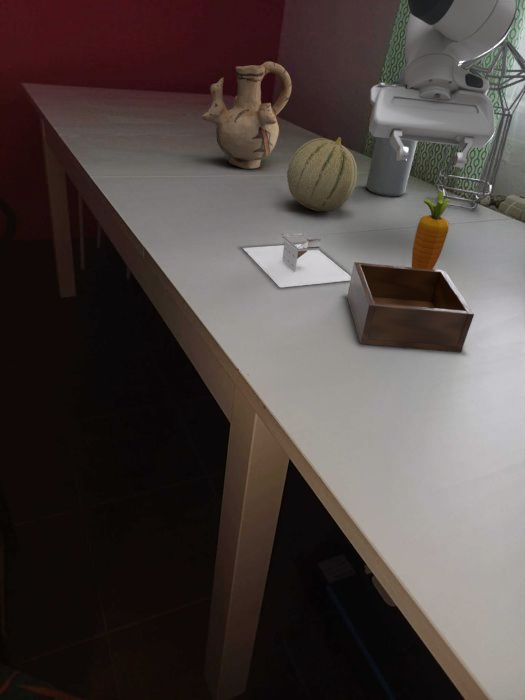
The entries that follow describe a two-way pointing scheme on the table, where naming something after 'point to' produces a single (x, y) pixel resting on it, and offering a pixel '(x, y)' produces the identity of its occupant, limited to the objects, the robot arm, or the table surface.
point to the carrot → (430, 235)
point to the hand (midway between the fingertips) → (431, 162)
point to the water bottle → (390, 164)
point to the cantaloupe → (322, 174)
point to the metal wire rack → (470, 65)
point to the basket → (408, 308)
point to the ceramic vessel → (248, 115)
